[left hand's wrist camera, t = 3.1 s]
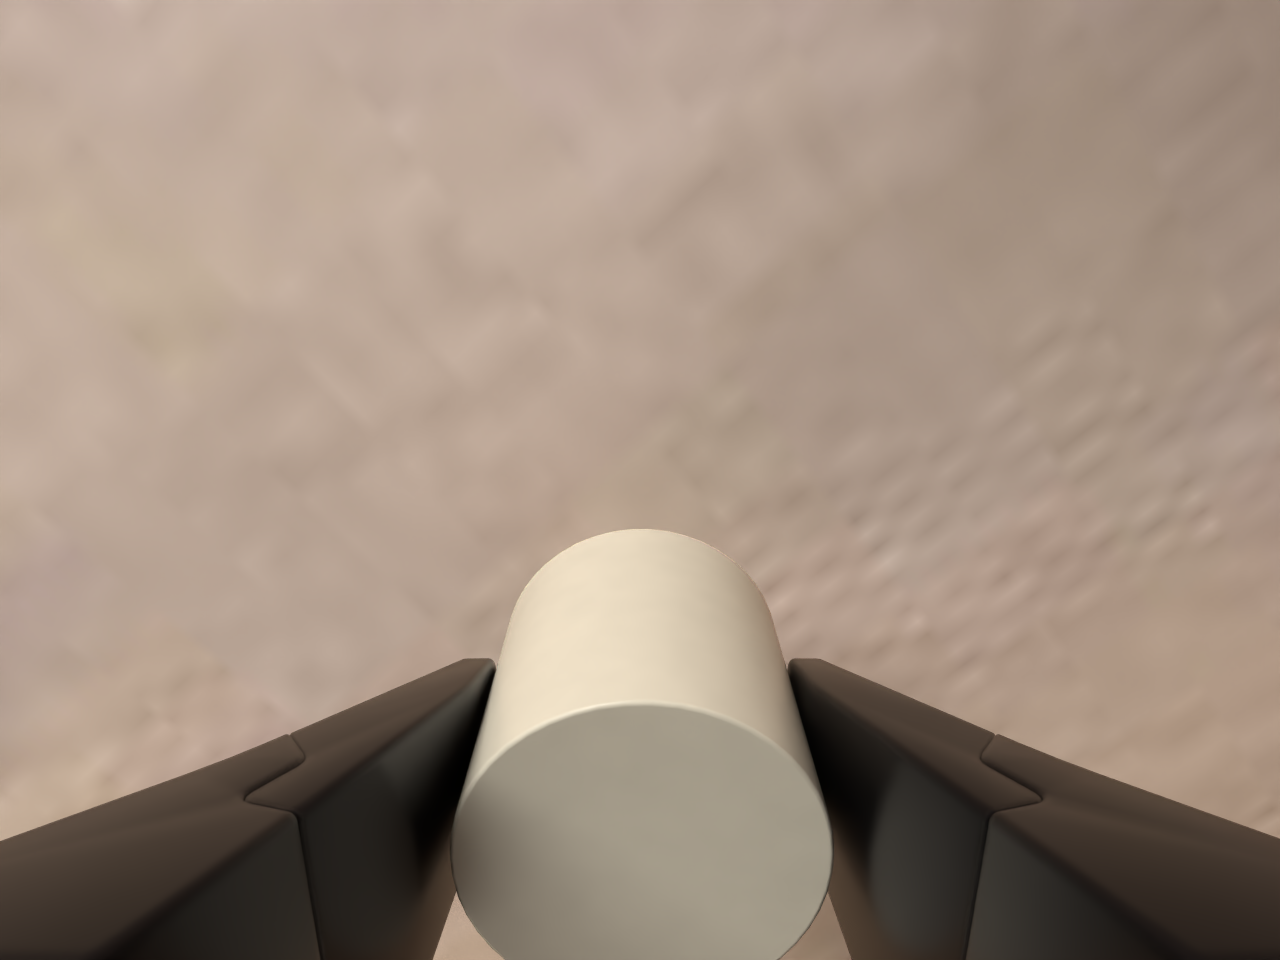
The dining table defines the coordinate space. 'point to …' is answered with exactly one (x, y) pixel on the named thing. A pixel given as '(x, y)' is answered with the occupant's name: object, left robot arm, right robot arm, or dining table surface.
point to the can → (641, 767)
